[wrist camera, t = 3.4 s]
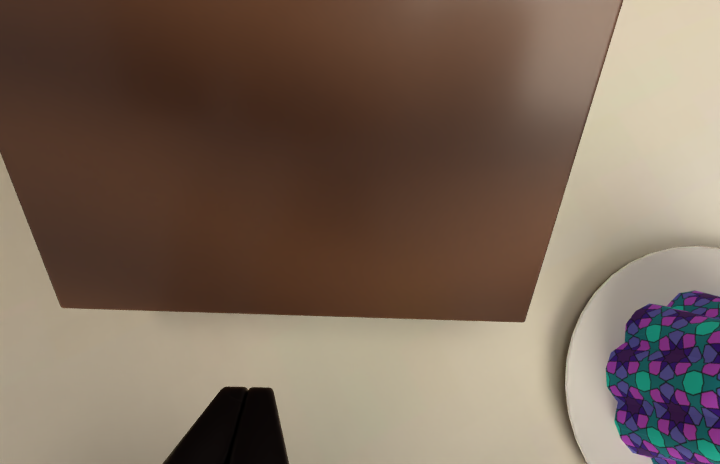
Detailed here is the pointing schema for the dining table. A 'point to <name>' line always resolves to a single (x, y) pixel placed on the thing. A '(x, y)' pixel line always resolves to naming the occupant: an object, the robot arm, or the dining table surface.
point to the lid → (297, 150)
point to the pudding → (650, 362)
